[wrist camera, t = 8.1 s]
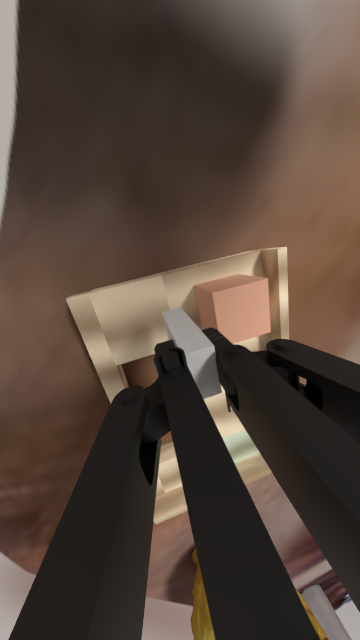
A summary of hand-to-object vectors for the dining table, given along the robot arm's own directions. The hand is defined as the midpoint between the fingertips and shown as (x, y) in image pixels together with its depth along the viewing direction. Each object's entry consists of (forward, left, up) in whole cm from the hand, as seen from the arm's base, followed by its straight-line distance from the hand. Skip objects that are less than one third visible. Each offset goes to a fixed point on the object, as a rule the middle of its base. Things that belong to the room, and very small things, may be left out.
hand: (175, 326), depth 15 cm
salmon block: (+1, +6, -6) cm, 8 cm away
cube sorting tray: (+12, +2, -8) cm, 14 cm away
